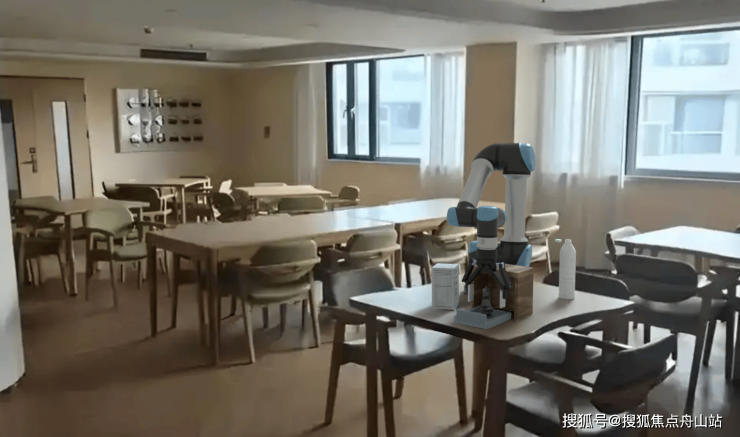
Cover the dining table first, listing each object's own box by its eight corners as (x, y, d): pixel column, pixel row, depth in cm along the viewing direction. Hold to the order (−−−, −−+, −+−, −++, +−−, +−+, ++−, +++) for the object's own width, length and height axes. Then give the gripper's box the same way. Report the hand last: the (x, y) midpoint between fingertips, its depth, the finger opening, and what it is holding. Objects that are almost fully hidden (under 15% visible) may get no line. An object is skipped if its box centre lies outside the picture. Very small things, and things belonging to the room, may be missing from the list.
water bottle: (571, 295, 279) (572, 237, 276) (577, 299, 272) (579, 240, 269) (551, 296, 278) (552, 238, 275) (556, 300, 272) (558, 240, 268)
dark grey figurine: (491, 314, 249) (492, 283, 247) (495, 318, 243) (496, 286, 241) (476, 314, 248) (476, 283, 247) (480, 318, 242) (480, 287, 241)
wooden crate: (471, 311, 256) (471, 266, 254) (487, 305, 265) (487, 261, 263) (517, 320, 243) (518, 272, 241) (532, 313, 252) (533, 267, 250)
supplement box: (459, 304, 267) (459, 263, 265) (454, 310, 258) (455, 268, 256) (436, 302, 270) (436, 262, 268) (431, 308, 261) (431, 267, 259)
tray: (453, 322, 242) (454, 309, 241) (478, 312, 255) (478, 300, 254) (487, 329, 233) (487, 315, 232) (510, 318, 245) (511, 305, 245)
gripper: (452, 245, 247) (452, 300, 250) (512, 253, 231) (511, 311, 234) (463, 243, 253) (463, 297, 256) (522, 250, 237) (521, 307, 239)
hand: (486, 304), depth 245 cm, fingers open, 13 cm apart
